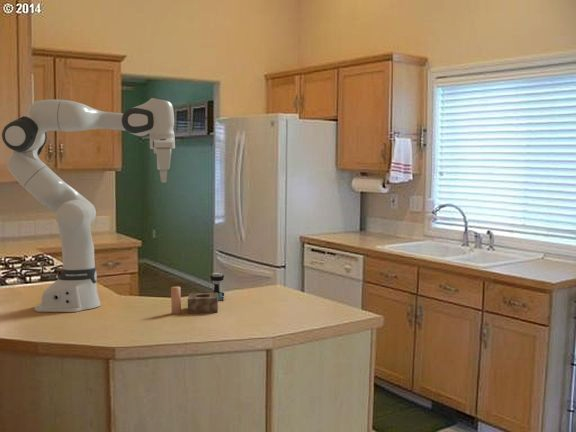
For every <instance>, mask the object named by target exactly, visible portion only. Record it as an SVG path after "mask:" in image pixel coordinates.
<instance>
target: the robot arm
mask: <svg viewBox="0 0 576 432" xmlns="http://www.w3.org/2000/svg"><path fill="white" fill-rule="evenodd" d="M174 112H175V111H174V105H173V104H172V103H171V101H169V100H168V99H165V98H161V97H160V98H159V97H151V98H150V99H149V100H148V101H146V102H144V103H142V104H139V105H137V106H134V107H130V108H128V109H125V111H124V112H123V113H121V112H111V111H103V110H99V109H97V108H93V107H91V106H89V105H87V104H84V103H81V102H77V101H74V100H67V99H40V100H36V101H34V102H32V104H31V105H30V107H29V111H28V116H26V115H23V116H21V117H19V118H16V119H14V120H12V121H10V122H9V123H7V124H6V125H5V126H4V127H3V129H2V131H1V137H2V138H1V139H2V141H3V143H4V145H5V146H6V147H7V148H8V149H10V150H12V154H11V155H10V156H9V157H8V159H7V162H6V168H7V170H8V172H9V173H10V174H11V175H12V177H13V178H14V179H15V181H16V182H18V183H19V185H20V186H21V187H23V188H24V189H25V190H26V191H27V192H28V193H29V194H30V195H31V196H32V197H33V198H34V199H36V200H37V202H39V203H40V204H41V205H42V206H45V207H47V208H48V209H49V210H51V211H52V212H54V213H55V220H56V223H57V229H58V234H59V239H60V244H61V254H62V255H61V256H62V267H61V268H59V270H57V272H56V276H57V280H56V281H55V282H53V283H51V285H49V286H48V287H47V288H46V289H44V290H43V293H42V295H41V301H40V303H38V304H37V305H35V306H34V311H35V312H38V313H39V312H45V313H48V312H51V313H59V312H60V313H64V312H65V313H76V312H77V313H78V312H81V311H85V310H90V309H91V310H92V309H94V308H97V307H98V308H99V307H100V306H101V305H102V304H101V301H100V300H101V299H100V297H99V293H98V287H97V280H98V274H97V273H98V272H97V267H96V264H95V258H96V257H95V244H94V240H93V236H92V231H91V230H92V229H91V225H92V224H94V222H95V220H96V218H97V217H96V216H97V211H96V207H95V206H94V204H93V203H92V202H90V201H89V200H88V199H87V198H86V197H85V196H83V195H82V194H80V192H78V191H77V190H76V189H74V188H73V187H72V186H70V185H69V184H68V183H67V182H65V181H64V180H63V179H62V178H61V177H59V176H58V175H57V173H55V172H54V171H53V170H52V169H51V168H50V167H49V166H48V165H47V164H46V163H44V161H42V160H41V158H39V155H41V152H42V151H43V149H44V147H45V145H46V142H47V140H48V133H47V132H51V131H54V132H64V133H65V132H66V133H67V132H69V133H70V132H82V131H90V130H101V129H102V130H113V131H123V132H127V133H129V134H132V135H134V136H136V137H138V138H147V137H149V149H150V150H153V154H155V155H156V168H157V169H156V170H158V171H159V177H160V178H159V179H160V180H159V181H160V183H162V184H163V183H167V182H168V180H167V179H168V177H167V176H168V170H170V166H171V157H172V150H174V149H176V139H175V137H176V136H175V134H176V133H175V132H174V127H175V113H174Z"/></svg>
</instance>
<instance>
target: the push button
mask: <svg viewBox="0 0 576 432" xmlns="http://www.w3.org/2000/svg"><path fill="white" fill-rule="evenodd" d="M211 274H212V275H209V278H210V281H212V292H211V293H218V301H224V300H226V297H227V296H226V295H225V292H223V291H222V290H223V289H222V288H223V287H222V286H223V285H222V284H223V283H222V281H224V277H225V275H224V274H223V272H212V273H211Z"/></svg>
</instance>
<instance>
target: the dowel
mask: <svg viewBox="0 0 576 432" xmlns="http://www.w3.org/2000/svg"><path fill="white" fill-rule="evenodd" d="M181 295H182V293H181V286H171V287H170V298H171V300H170V301H171V304H170V305H171V314H172V315H180V313H181V314H182V299H181V298H182V296H181Z"/></svg>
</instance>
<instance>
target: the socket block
mask: <svg viewBox="0 0 576 432" xmlns="http://www.w3.org/2000/svg"><path fill="white" fill-rule="evenodd" d="M218 309H219V300H218V293H212V292H200V293H199V292H195V293H194V292H193V293H189V294H188V297H187V314H188V313H189V314H209V313H210V314H212V313H213V314H214V313H215V314H216V313H218Z"/></svg>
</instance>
